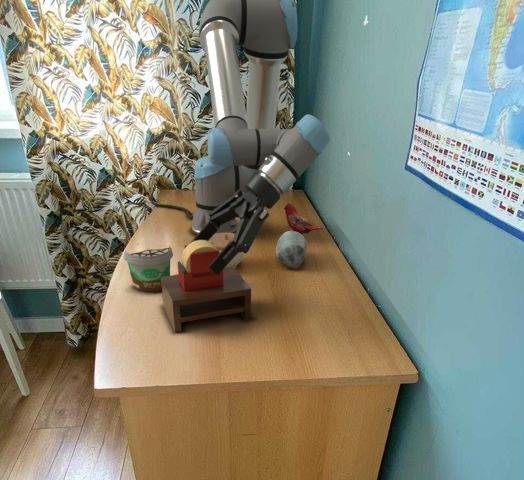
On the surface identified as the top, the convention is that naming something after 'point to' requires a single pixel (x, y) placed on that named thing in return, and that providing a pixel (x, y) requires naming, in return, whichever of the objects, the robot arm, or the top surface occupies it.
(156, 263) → the food container
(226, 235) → the trinket box
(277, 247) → the spool
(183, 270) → the tape dispenser
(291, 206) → the decorative bird figurine
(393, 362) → the top surface
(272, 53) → the robot arm
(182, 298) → the shelf
